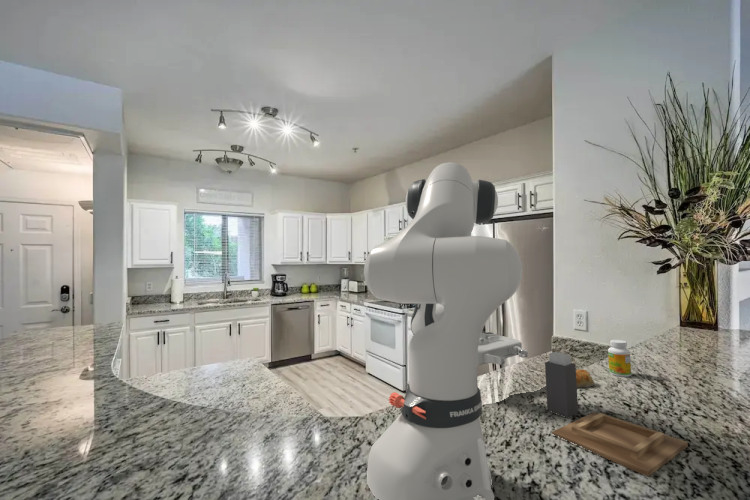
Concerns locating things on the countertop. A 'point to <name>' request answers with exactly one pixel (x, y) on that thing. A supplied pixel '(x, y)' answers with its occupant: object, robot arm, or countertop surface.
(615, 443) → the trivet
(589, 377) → the pastry
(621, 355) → the supplement bottle
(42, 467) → the countertop surface
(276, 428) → the countertop surface
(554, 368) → the capped dark pillar
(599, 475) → the countertop surface
